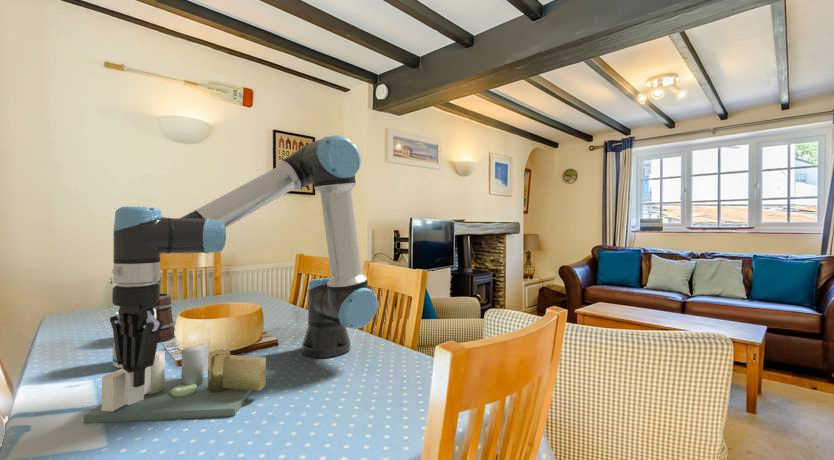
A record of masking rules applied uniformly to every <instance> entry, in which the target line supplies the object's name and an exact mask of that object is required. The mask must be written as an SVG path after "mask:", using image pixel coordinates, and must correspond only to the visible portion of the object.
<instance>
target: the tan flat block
mask: <svg viewBox="0 0 834 460" xmlns="http://www.w3.org/2000/svg"><path fill="white" fill-rule="evenodd" d="M266 366H267V357H265V356H264V357H263V356H252V355H250V356H249V355H235V354H234V355H233V354H231V350H228V349H217V350H213V351H209V354H208V372H207V377H208V391H211V392H217V391H222V390H225V389H227V388H233V389H246V390H253V391H259V392H260V391H261V390H263V388H265V387H266V381H267V379H266V377H267V375H266V373H267V372H266V371H267V369H266V368H267V367H266Z"/></svg>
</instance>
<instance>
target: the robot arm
mask: <svg viewBox="0 0 834 460" xmlns="http://www.w3.org/2000/svg"><path fill="white" fill-rule="evenodd" d="M361 159H362V158H361V155H360V151H359V149H358V147H357V146H356V144H355V143H354V142H352V140H351V139H349V138H348V137H345V136H343V135H336V134H335V135H330V136H324V137H323V138H321V139H318V140H315V141H312V142H310V143H308V144H305V145H303V146H302V147H300V148H299V149H298V150H297V151H295V152H293V153H292V154H290V155H289V156H288V157H287V156H286V157H285V158H283V159H282V160H280V161H278V164H277V166H275V168H273V169H271V170H269V171H267V172H265V173H263V174H261V175H260V176H257V177H255V178H253V179H252V180H250V181H248V182H246V183H244V184H242V185H240V186H238V187H237V188H234V189H233V190H231V191H229V192H227V193H225V194H223V195H221V196H220V197H218V198H215V199H214V200H212V201H210V202H208V203H206V204H205V205H204V204H203V205H202V206H200V207H198V208H197V209H195V210H193V211H192V212H189V213H187V214H186V215H184V216H181V217H180V218H172V217H171V218H170V217H166V216H165V217H163V214H162V210H161V209H160V208H159V207H149V206H120V207H118V208H117V209H116V210H115V213H114V220H113V221H114V222H113V223H114V224H113V261H112V262H113V269H112V270H111V273H112V274H113V275H112V277H113V278H112V282H113V283H114V284H116V285H114V286H113V287H112V293H111V295H112V297H111V299H112V300H111V303H112V305H113V306H115V307H119V309H118V311H117V312H118V313H119V314H118V315H117V316H115V315H113V316H110V317H109V322H110V325H111V327H112V331H113V333H112V334H113V335H114V342H115V350H116V358H117V364H118V365H123V369H124V370H125V404H127V405H131V404H133V403H136V402H139V401H141V400H144V383H145V369H146V368H147V367H150V366H153V364H154V359H155V353H156V351H157V349H158V348H157V347H158V338H159V332H160V330H161V328H162V326H163V321H162V320H158V321H157V320H156V319H155V317H154V314H155V313H154V309H153V304H154V303H155V302H157V301H159V298H160V291H161V290H160V288H161V286H160V284H159V283H157V282H159V281H160V280H161V255H162V254H200V253H201V254H204V253H205V254H211V253H219V252H221V251H223V250H224V248H225V246H226V241H227V228H229V227H230V226H232V225H234V224H235V223H237V222H239V221H240V220H242V219H243V218H245V217H247V216H249V215H251V214H253V213H255V212H256V211H258V210H259V209H262V208H263V207H265V206H267V205H268V204H270V203H272V202H273V201H275V200H277V199H279V198H280V197H282V196H284V195H285V194H288V193H290V192H291V191H299V190H301V189H302V188H305V187H307V186H309V185H313V189H314V190H316V191H317V192H318V193H319V194H320V201H321V208H322V215H323V222H324V223H323V224H324V232H325V238H326V239H325V240H326V245H327V246H326V247H327V252H328V260H329V262H328V263H329V269H330V275H331V276H330V277H324V278H323V277H322V278H314V279H311V280H310V281H309V283H308V289H307V293H308V294H307V296H308V299H307V300H308V301H307V302H308V303H307V305H308V306H307V315H308V316H307V329H306V332H305V335H304V337H303V340H302V343H301V353H302V354H303V355H305V356H307V357H309V358H310V357H312V358H333V356H334V357H338V355H339V356H342V355H344V354H343V353H345V354H347V353H348V352H349V351H350V350H351V345H352V344H351V339H350V335H349V333H348V328H349V329H362V328H364V327H366V326H367V325H368V324H369V323H370V322H372V320H373V318H374V317H375V315H376V313H377V312H378V308H379V307H378V306H379V302H378V297H377V294H375V292H373V290H372V289H370V288H369V283H368V277H367V276H366V275H365V274H364V273H363V272H362V268H361V260H360V258H361V257H360V251H359V244H358V243H359V242H358V234H357V227H356V226H357V225H356V220H355V219H356V218H355V209H354V202H353V194H352V190H353V189H354V187H356V185H357V182H356V174H357V173H358V171H359V170H360V169H361V164H362V163H361V162H362V160H361ZM349 349H350V350H349ZM347 351H348V352H347ZM346 352H347V353H346ZM341 354H342V355H341Z"/></svg>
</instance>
